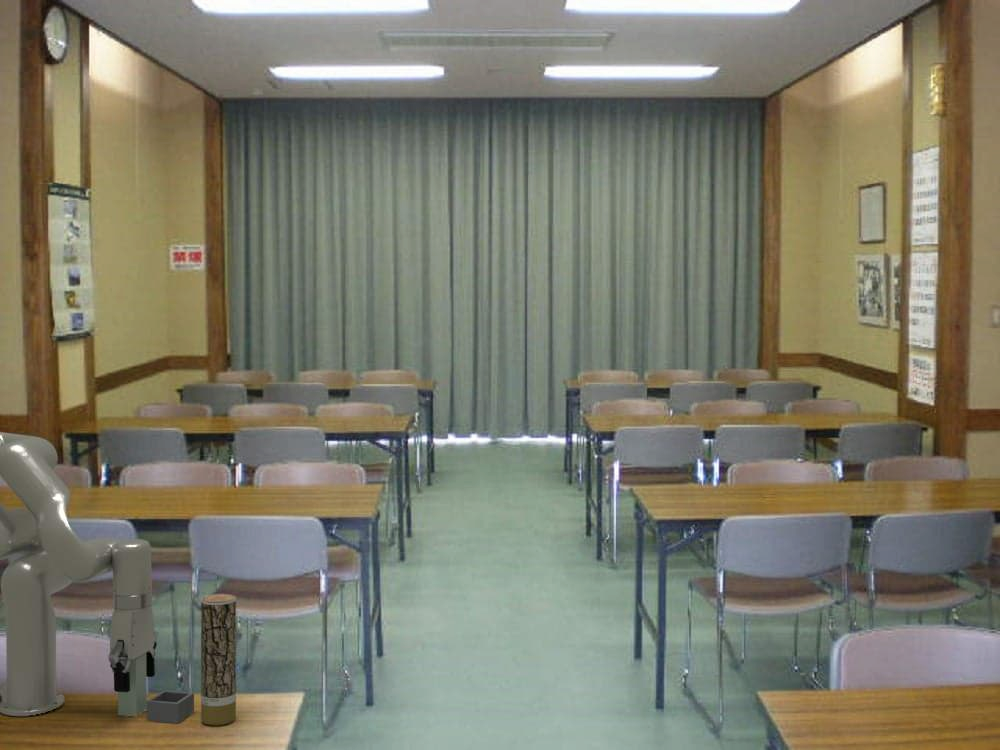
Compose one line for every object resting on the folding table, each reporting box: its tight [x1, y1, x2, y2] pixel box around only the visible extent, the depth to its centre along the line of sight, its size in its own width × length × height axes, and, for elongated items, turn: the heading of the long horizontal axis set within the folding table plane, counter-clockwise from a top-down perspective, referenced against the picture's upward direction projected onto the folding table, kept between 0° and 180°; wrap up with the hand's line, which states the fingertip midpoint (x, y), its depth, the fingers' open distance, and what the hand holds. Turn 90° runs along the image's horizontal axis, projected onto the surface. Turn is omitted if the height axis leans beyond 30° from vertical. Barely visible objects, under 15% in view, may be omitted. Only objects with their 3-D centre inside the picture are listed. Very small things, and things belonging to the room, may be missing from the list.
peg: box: [117, 653, 147, 716], centre depth 226 cm, size 4×4×12 cm
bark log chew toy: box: [200, 593, 237, 727], centre depth 222 cm, size 7×7×25 cm
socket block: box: [146, 689, 195, 725], centre depth 225 cm, size 7×7×4 cm
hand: (134, 683), depth 226 cm, fingers open, 9 cm apart
